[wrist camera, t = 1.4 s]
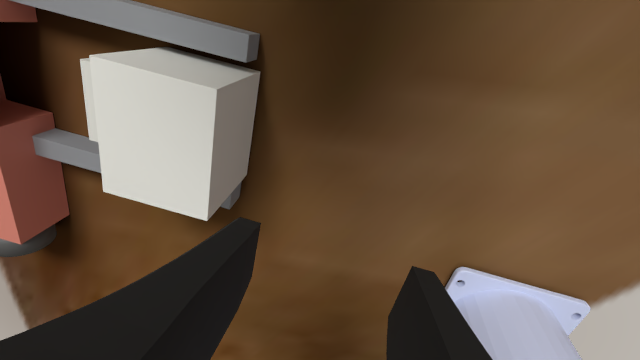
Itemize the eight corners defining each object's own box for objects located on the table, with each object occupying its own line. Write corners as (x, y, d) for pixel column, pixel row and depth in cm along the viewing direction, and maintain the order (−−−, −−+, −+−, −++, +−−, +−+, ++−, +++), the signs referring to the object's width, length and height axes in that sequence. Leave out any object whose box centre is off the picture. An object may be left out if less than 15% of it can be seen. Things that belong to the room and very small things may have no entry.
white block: (246, 174, 19) (207, 221, 14) (125, 141, 19) (50, 176, 15) (260, 71, 16) (216, 89, 12) (118, 34, 17) (24, 37, 12)
